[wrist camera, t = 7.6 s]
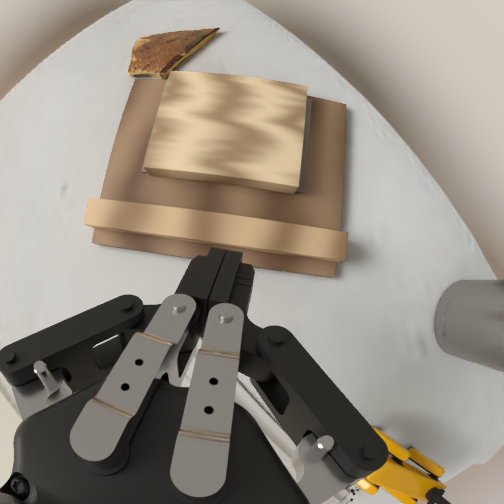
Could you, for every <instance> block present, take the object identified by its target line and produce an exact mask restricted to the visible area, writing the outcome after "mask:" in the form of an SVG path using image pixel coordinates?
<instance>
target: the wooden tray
mask: <svg viewBox="0 0 504 504" xmlns="http://www.w3.org/2000/svg"><path fill="white" fill-rule="evenodd" d="M166 83H167V79H135V81H134V84H133V87H132V89H131V92H130V95H129V98H128V101H127V103H126V106H125V109H124V112H123V115H122V119H121V122H120V125H119V128H118V131H117V135H116V138H115V142H114V145H113V149H112V152H111V156H110V160H109V164H108V167H107V171H106V175H105V180H104V184H103V188H102V193H101V197H100V199H96V198H89V199H88V204H87V209H86V214H85V219H84V224H85V225H88V226H90V227H93V228H94V233H93V239H92V243H95V244H100V245H107V246H113V247H120V248H126V249H133V250H139V251H146V252H153V253H159V254H166V255H173V256H180V257H187V258H195V257H197V256H198V255H202V256H207V255H208V253H209V250H210V248H211V247H217V248H222V249H227V250H234V251H239V252H243V258H242V263H246V264H251V265H252V266H253V267H257V268H265V269H272V270H279V271H287V272H294V273H302V274H309V275H317V276H325V277H335V271H336V263H337V262H339V261H346V251H347V241H348V233H347V232H341V231H340V223H341V212H342V199H343V184H344V166H345V142H346V104H342V103H338V102H334V101H330V100H325V99H321V98H316V97H311V96H307V101H306V113H305V125H304V137H303V148H302V158H301V169H300V178H299V187H298V188H297V190H296V191H295V193H294V194H290V193H284V192H277V191H271V190H264V189H258V188H251V187H244V186H237V185H229V184H222V183H214V182H206V181H197V180H189V179H180V178H170V177H160V176H150V175H149V174H148V173H147V171H146V170H145V169H144V168H143V165H144V161H145V157H146V153H147V149H148V145H149V141H150V137H151V134H152V130H153V126H154V123H155V119H156V116H157V112H158V109H159V106H160V102H161V99H162V96H163V93H164V89H165V86H166Z"/></svg>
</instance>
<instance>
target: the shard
mask: <svg viewBox="0 0 504 504" xmlns="http://www.w3.org/2000/svg"><path fill="white" fill-rule="evenodd" d="M219 29H220V28H215V29H202V30H193V31H177V32H168V33H163V34H156V35H151V36H149V37H144V38H139V39H138V40H136V42H135V44H134V46H133V49H132V56H131V62H130V66H129V69H128V74H129V76H132V75H139V74H144V75H149V76H153V77H155V78H158V79H165V78H166V77H167V75H168V74H169V73H170V71H172V70H173V69H174V68H175V67H176V66H178V65H179V63H180V62H182V61H183V60H184V59H186V58H187V57H189V56H190V55H191V54H193V53H194V52H195V51H197V50H198V49H200V48H201V47H202V46H203V45H205V44H206V43H207V42H208V41H209V40H210V39H211V38H213V36H214V35H215V34H216V32H217V31H218V30H219Z"/></svg>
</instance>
